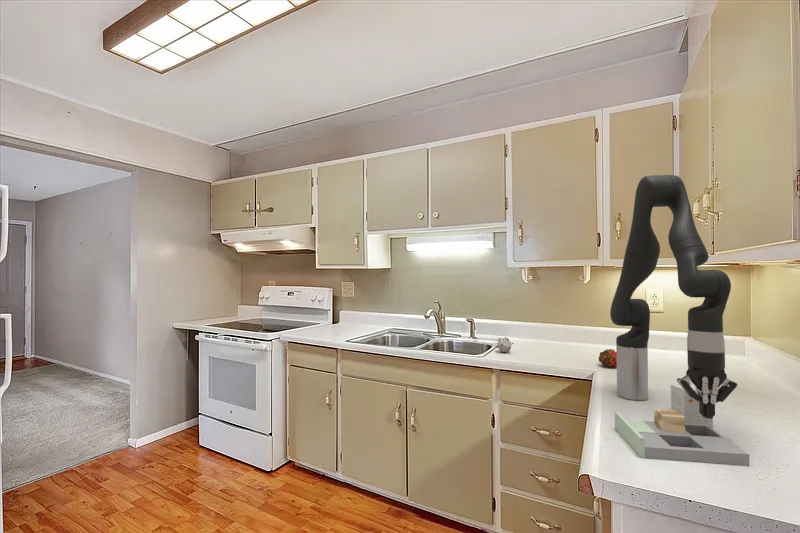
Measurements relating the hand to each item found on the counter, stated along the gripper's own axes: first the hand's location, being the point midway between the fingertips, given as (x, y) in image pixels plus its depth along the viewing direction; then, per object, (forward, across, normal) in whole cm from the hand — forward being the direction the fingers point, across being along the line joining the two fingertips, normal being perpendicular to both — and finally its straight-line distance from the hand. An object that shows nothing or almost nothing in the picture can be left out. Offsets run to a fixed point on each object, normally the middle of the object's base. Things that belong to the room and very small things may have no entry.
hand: (707, 417), depth 99 cm
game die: (+5, +43, -100) cm, 109 cm away
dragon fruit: (+5, -1, -78) cm, 78 cm away
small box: (+6, -2, -12) cm, 14 cm away
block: (+4, +8, 0) cm, 9 cm away
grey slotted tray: (+6, +9, +4) cm, 11 cm away
